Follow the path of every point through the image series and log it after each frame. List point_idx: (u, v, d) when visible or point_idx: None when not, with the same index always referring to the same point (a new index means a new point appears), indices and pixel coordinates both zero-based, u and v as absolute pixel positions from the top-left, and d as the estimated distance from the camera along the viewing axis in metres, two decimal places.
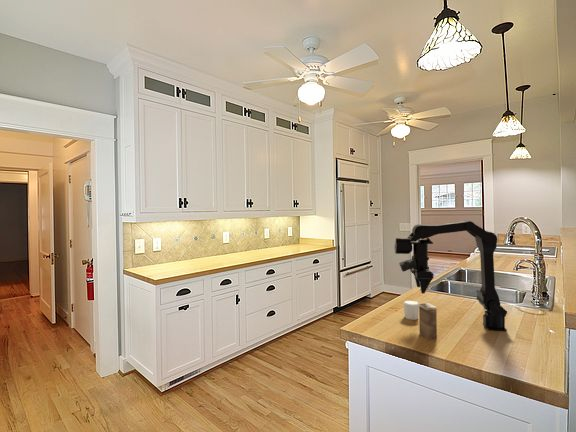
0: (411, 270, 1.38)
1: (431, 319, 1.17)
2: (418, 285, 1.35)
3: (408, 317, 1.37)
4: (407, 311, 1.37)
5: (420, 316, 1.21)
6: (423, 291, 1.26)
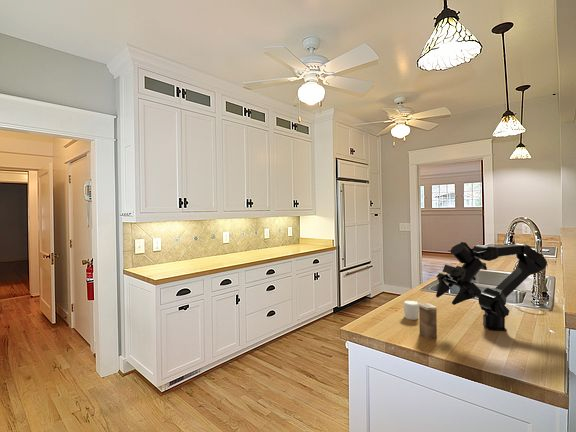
0: (439, 279, 1.28)
1: (431, 319, 1.17)
2: (438, 295, 1.25)
3: (408, 317, 1.37)
4: (407, 311, 1.37)
5: (420, 316, 1.21)
6: (455, 302, 1.16)
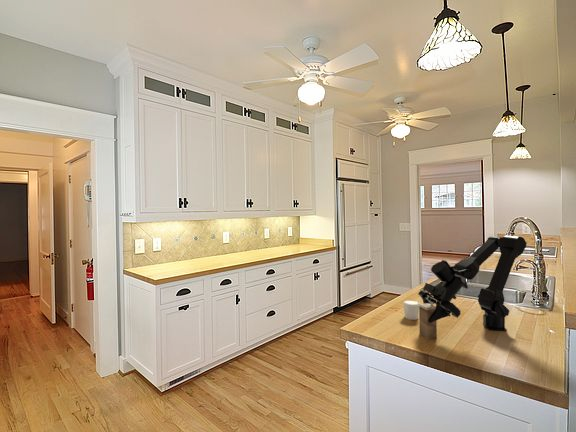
0: (423, 298, 1.25)
1: None
2: None
3: (408, 317, 1.37)
4: (407, 311, 1.37)
5: (420, 316, 1.21)
6: (431, 320, 1.16)
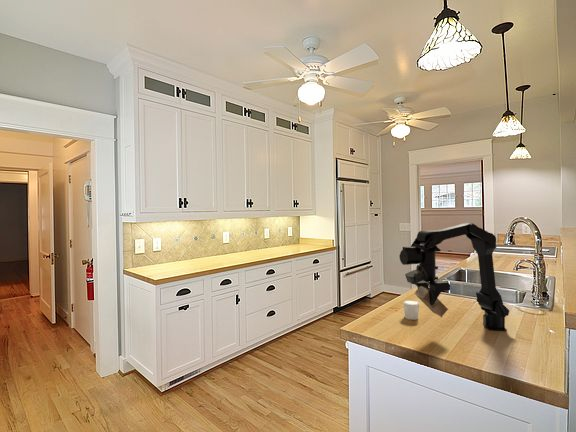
0: None
1: None
2: None
3: (408, 317, 1.37)
4: (407, 311, 1.37)
5: (422, 301, 1.21)
6: (433, 302, 1.16)
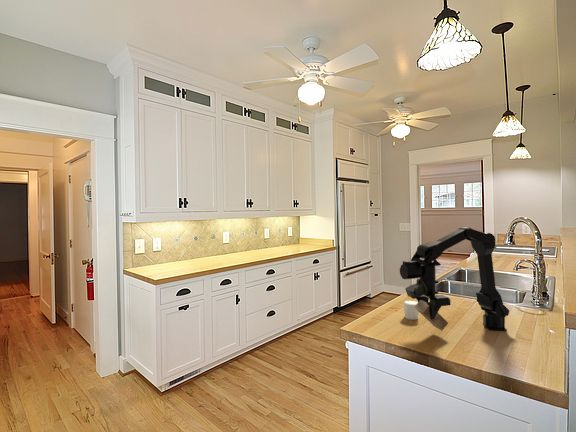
0: None
1: None
2: None
3: (408, 317, 1.37)
4: (407, 311, 1.37)
5: (423, 315, 1.21)
6: (433, 317, 1.17)
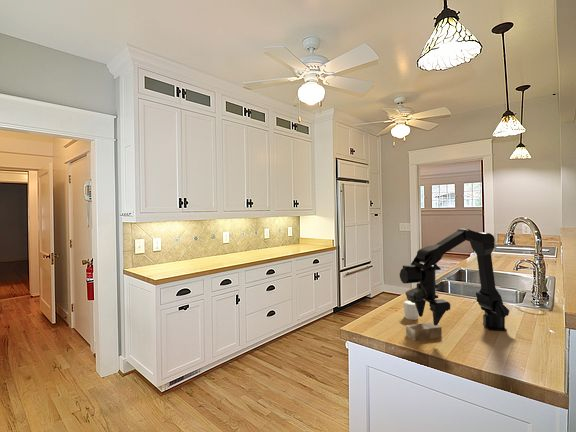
0: None
1: (424, 334, 1.17)
2: (420, 314, 1.24)
3: (408, 317, 1.37)
4: (407, 311, 1.37)
5: None
6: (436, 323, 1.15)
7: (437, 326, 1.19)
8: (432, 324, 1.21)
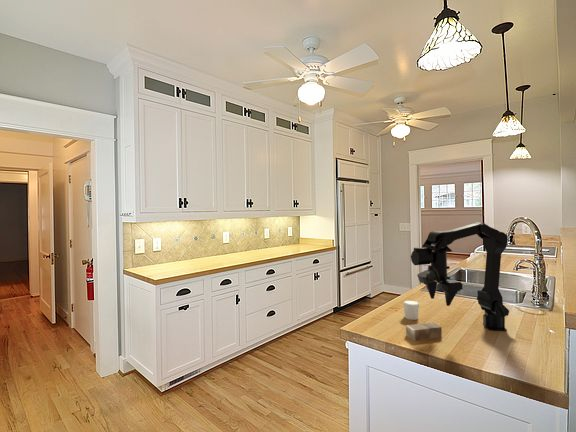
0: None
1: (424, 334, 1.17)
2: (432, 296, 1.26)
3: (408, 317, 1.37)
4: (407, 311, 1.37)
5: None
6: (449, 303, 1.17)
7: (437, 326, 1.19)
8: (432, 324, 1.21)
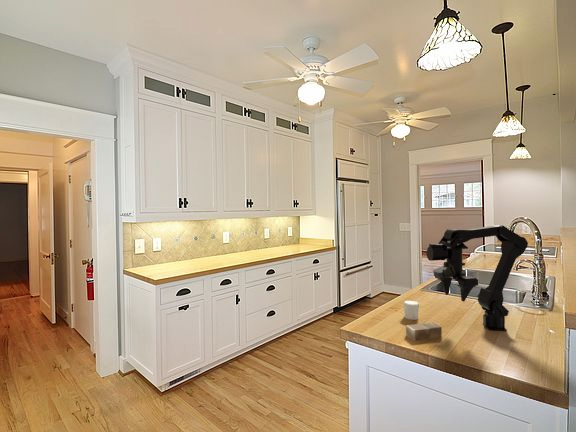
0: None
1: (424, 334, 1.17)
2: (447, 292, 1.29)
3: (408, 317, 1.37)
4: (407, 311, 1.37)
5: None
6: (464, 299, 1.20)
7: (437, 326, 1.19)
8: (432, 324, 1.21)
